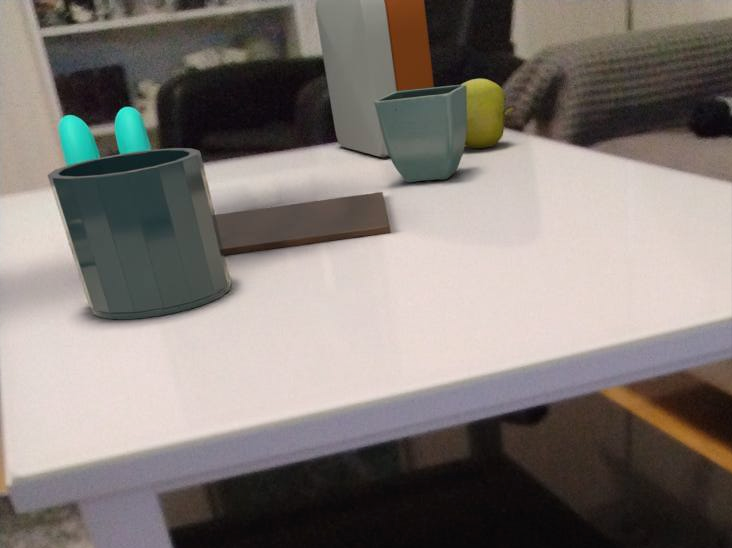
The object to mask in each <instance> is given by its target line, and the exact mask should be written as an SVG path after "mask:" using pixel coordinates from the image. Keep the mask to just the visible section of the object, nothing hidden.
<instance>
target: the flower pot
mask: <svg viewBox="0 0 732 548" xmlns="http://www.w3.org/2000/svg"><path fill="white" fill-rule="evenodd" d="M374 104H375V108H376V112H377V116H378V120H379V124H380V128H381V132H382V136H383V139H384V143H385V146H386V149H387V152H388V154H389V157H388V158H390V159H389V160H390V161H391V162H392V164H393V166H394V168H395V169H396V171H397V172H398V174H399V175H400V176H401V177H402V179H403V180H404V181H405V182H406V183H415V182H423V181H433V180H435V181H436V180H440V181H445V180H447V179H449V178H451V176H452V175H453V174H454V173H456V172H457V171H458V168H459V166H460V163H461V160H462V157H463V152H464V150H465V140H466V130H467V86H466V85H461V84H456V85H455V84H454V85H445V86H434V88H425V89H416V90H406V91H398V92H393V93H391V94H389V95H387V96H384V97H382V98H380V99H378V100H376V101H374Z"/></svg>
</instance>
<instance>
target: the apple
mask: <svg viewBox="0 0 732 548" xmlns="http://www.w3.org/2000/svg"><path fill="white" fill-rule="evenodd" d="M460 85H466V86H467V130H466V140H465V146H466V147H469V148H472V149H473V148H474V149H484V148H489V147H493V146H494V145H496V144H497V143H498V142H499V141H500V140H501V139H502V137H503V136H504V133H505V132H504V128H505V123H506V115H507V114H509V113H512V112H514V111H515V109H514V107H511V106H510V108H508V109H506V110H505V107H506V102H507V97H506V92H505V91H504V90H503V88H502V87H501V86H500V85H499V84H497V83H496V82H494V81H492V80H490V79H486V78H475V79H473V78H472V79H470V80H467V81H465V82H463V83H461V84H460ZM465 146H464V147H465Z"/></svg>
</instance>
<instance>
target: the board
mask: <svg viewBox="0 0 732 548" xmlns="http://www.w3.org/2000/svg"><path fill="white" fill-rule="evenodd" d="M215 216H216V220H217V225H218V229H219V233H220V237H221V242H222V246H223V250H224V254H225V256H228V255H236V254H242V253H251V252H257V251H265V250H273V249H280V248H286V247H293V246H302V245H308V244H315V243H323V242H329V241H330V242H331V241H338V240H345V239H346V240H347V239H352V238H353V239H354V238H360V237H367V236H375V235H381V234H382V235H383V234H389V233H391V227H390V221H389V217H388V216H389V215H388V211H387V206H386V202H385V197H384V192H383V191H379V192H373V193H365V194H358V195H351V196H350V195H349V196H342V197H335V198H327V199H320V200H319V199H318V200H312V201H306V202H297V203H291V204H283V205H276V206H269V207H262V208H254V209H247V210H238V211H233V212H224V213H217V214H216V213H215Z"/></svg>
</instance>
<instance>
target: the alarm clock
mask: <svg viewBox="0 0 732 548" xmlns="http://www.w3.org/2000/svg"><path fill="white" fill-rule="evenodd" d="M315 16H316V21H317V28H318V35H319V40H320V41H319V42H320V46H321V53H322V57H323V65H324V70H325V76H326V82H327V89H328V95H329V100H330V108H331V114H332V120H333V125H334V132H335V136H336V139H337V142H338V144H339V146H340V147H343V148H345V149H350V150H353V151H357V152H361V153H365V154H367V155H368V154H369V155H372V156H376V157H379V158H383V159H385V158H390V157H389V154H388V152H387V149H386V146H385V143H384V139H383V136H382V132H381V128H380V124H379V120H378V116H377V112H376V108H375V104H374V101H376V100H378V99H380V98H382V97H384V96H387V95H389V94H391V93H393V92H398V91H406V90H416V89H425V88H434V87H435V86H434V85H435V83H434V77H433V67H432V59H431V49H430V43H429V32H428V24H427V15H426V6H425V0H316V1H315Z"/></svg>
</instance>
